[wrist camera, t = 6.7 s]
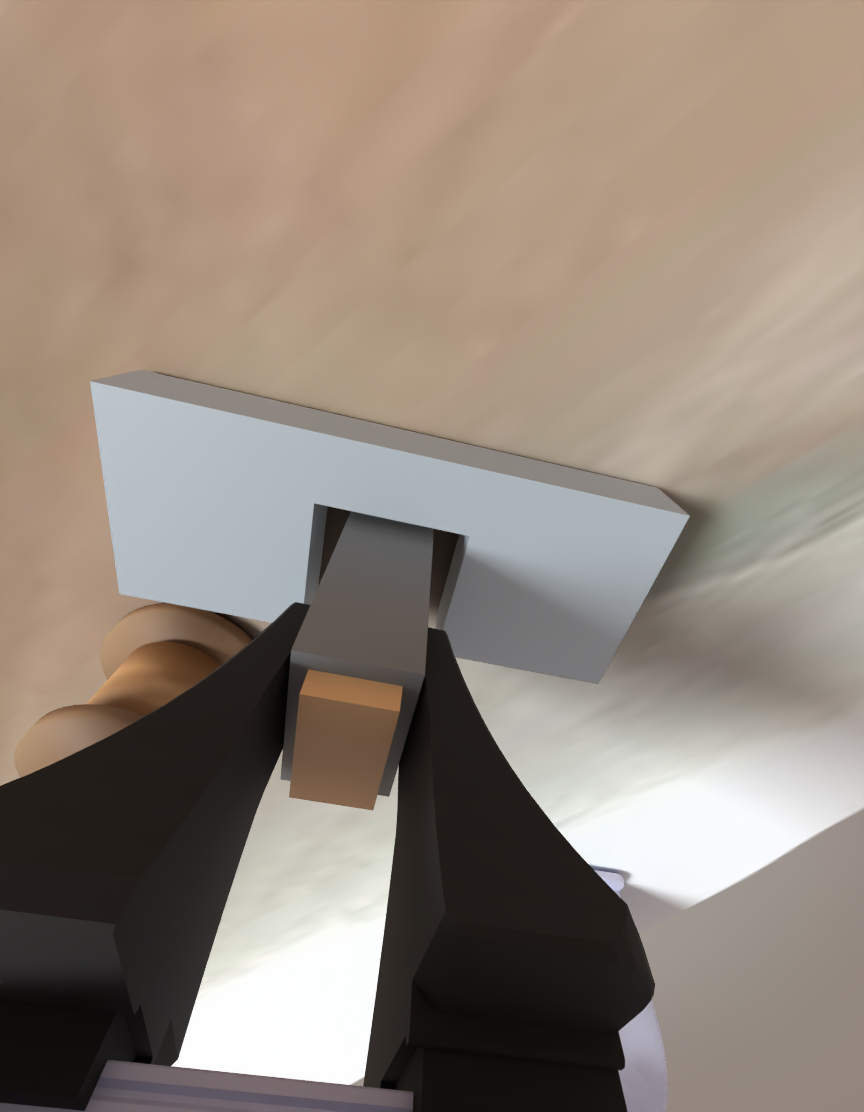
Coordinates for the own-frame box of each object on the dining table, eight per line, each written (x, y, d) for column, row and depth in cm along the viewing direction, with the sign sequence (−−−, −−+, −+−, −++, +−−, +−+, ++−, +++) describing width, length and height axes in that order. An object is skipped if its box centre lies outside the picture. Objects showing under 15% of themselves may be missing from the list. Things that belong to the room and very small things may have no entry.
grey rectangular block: (434, 527, 14) (423, 699, 8) (408, 628, 16) (386, 822, 10) (351, 510, 13) (280, 674, 8) (336, 614, 16) (271, 805, 10)
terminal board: (657, 487, 15) (689, 515, 13) (581, 642, 18) (598, 684, 16) (141, 369, 13) (89, 381, 11) (157, 559, 16) (119, 593, 14)
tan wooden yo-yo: (273, 621, 18) (212, 732, 13) (266, 732, 21) (215, 853, 16) (100, 588, 17) (-25, 692, 12) (119, 707, 20) (24, 825, 16)
